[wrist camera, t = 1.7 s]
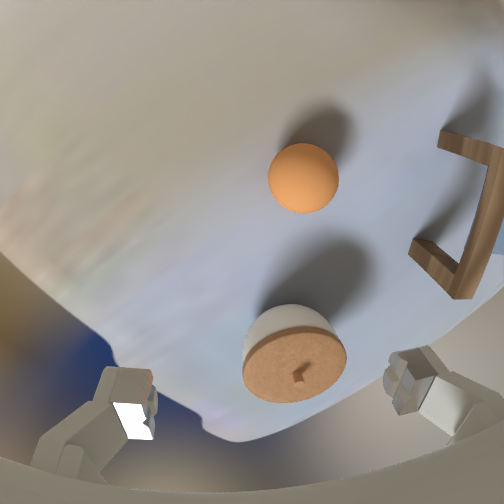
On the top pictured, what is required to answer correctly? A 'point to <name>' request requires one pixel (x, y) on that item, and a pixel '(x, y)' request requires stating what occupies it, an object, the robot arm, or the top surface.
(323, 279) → the top surface
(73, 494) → the robot arm
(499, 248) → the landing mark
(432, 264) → the bridge
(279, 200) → the ball
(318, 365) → the lidded jar
